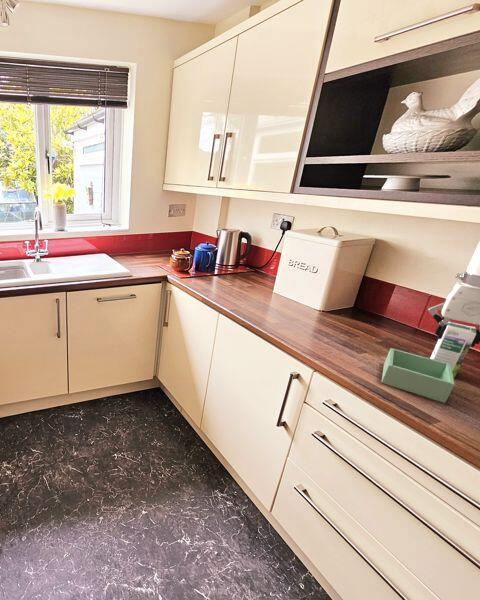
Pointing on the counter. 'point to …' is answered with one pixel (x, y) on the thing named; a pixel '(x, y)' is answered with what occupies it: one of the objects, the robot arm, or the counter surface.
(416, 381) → the bin
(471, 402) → the counter surface
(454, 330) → the syrup box
